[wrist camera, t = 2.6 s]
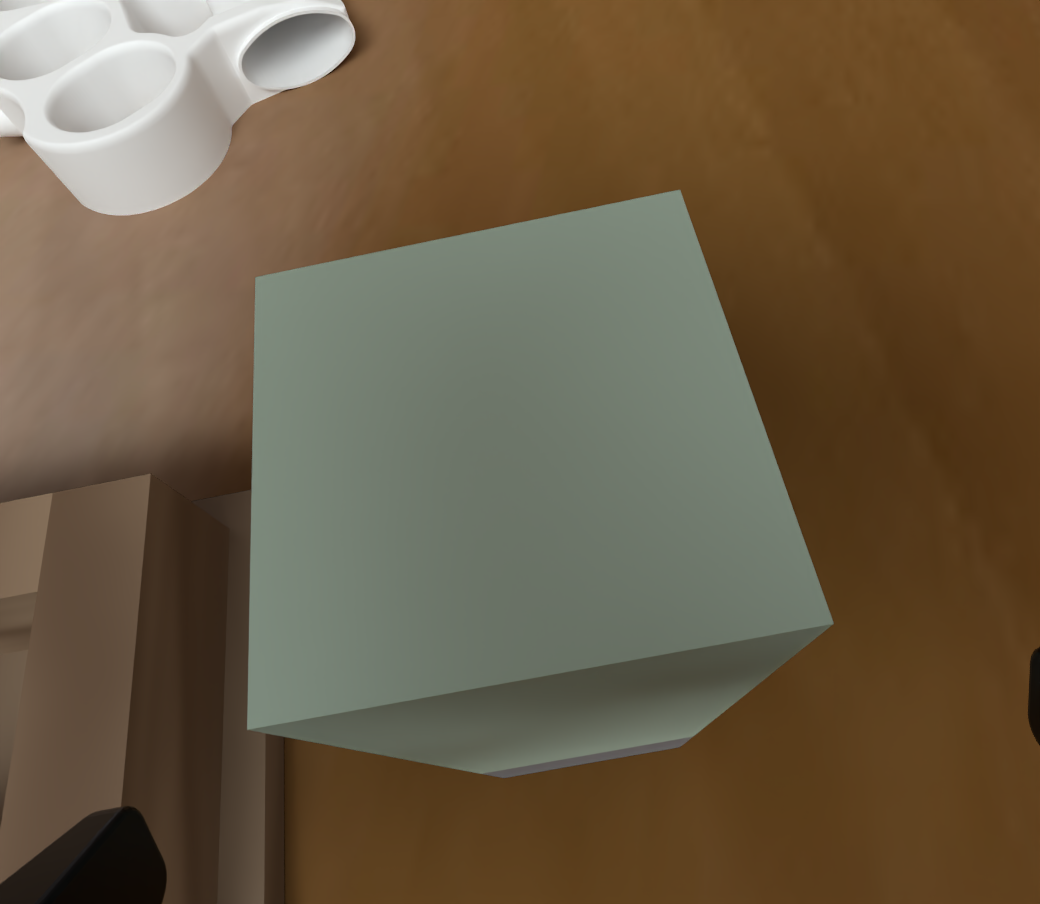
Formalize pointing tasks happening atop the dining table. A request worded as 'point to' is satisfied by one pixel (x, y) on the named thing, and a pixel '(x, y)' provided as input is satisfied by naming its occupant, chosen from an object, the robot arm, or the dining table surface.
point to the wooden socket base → (136, 684)
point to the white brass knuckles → (152, 85)
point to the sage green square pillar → (514, 499)
